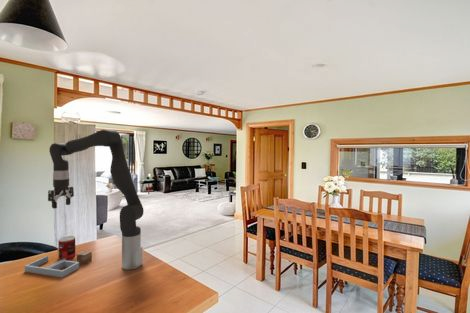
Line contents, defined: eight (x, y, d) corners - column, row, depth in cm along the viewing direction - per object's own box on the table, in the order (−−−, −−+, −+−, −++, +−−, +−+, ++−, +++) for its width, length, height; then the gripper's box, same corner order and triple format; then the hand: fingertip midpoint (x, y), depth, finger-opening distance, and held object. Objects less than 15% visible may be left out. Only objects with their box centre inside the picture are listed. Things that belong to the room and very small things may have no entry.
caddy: (82, 266, 128) (82, 260, 128) (62, 277, 117) (62, 271, 117) (47, 261, 133) (46, 255, 133) (24, 271, 122) (24, 265, 122)
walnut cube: (91, 260, 136) (91, 251, 135) (84, 264, 131) (84, 255, 131) (84, 259, 137) (84, 250, 136) (76, 263, 132) (76, 254, 132)
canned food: (60, 255, 140) (60, 237, 140) (76, 253, 144) (76, 235, 143) (57, 261, 133) (56, 241, 133) (74, 258, 137) (74, 239, 136)
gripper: (55, 180, 130) (55, 210, 130) (77, 177, 144) (77, 204, 144) (43, 179, 131) (44, 209, 132) (66, 176, 145) (66, 203, 146)
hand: (61, 206), depth 138 cm, fingers open, 8 cm apart
